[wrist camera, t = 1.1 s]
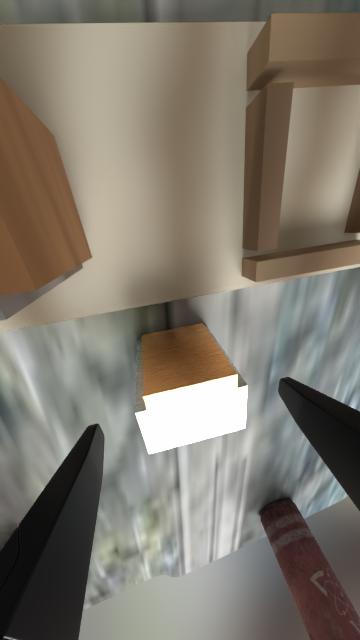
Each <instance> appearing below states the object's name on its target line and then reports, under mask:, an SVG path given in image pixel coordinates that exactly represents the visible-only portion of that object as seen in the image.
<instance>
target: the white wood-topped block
mask: <svg viewBox="0 0 360 640" xmlns="http://www.w3.org/2000/svg"><path fill="white" fill-rule="evenodd" d="M247 390H248V385H247V384H246V382H245V381H244V380H243V378H242V377H241V375H240V374H239V372H238V371H237V369H236V368H235V366H234V365H233V364H232V362H231V361H230V359H229V358H228V356H227V355H226V353H225V352H224V350H223V349H222V348H221V346H220V345H219V343H218V342H217V340H216V339H215V337H214V336H213V335H212V333H211V332H210V330H209V329H208V327H207V326H205V325H204V324H203V323H200V324H195V325H190V326H185V327H180V328H175V329H170V330H165V331H160V332H155V333H150V334H145V335H142V338H141V339H137V362H136V399H135V414H136V417H137V420H138V423H139V426H140V429H141V432H142V435H143V438H144V441H145V444H146V447H147V450H148V453H149V454H153V453H156V452H160V451H164V450H167V449H171V448H175V447H178V446H182V445H186V444H189V443H193V442H197V441H200V440H204V439H208V438H211V437H215V436H219V435H222V434H226V433H230V432H234V431H237V430H241V429H245V427H246V408H247Z"/></svg>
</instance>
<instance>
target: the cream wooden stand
mask: <svg viewBox="0 0 360 640" xmlns="http://www.w3.org/2000/svg"><path fill="white" fill-rule="evenodd" d="M357 267H360V13H271V15H270V17H269V18H268V20H267V21H266V22H166V23H62V24H0V332H4V331H9V330H15V329H20V328H26V327H31V326H37V325H42V324H48V323H54V322H59V321H65V320H70V319H76V318H81V317H87V316H92V315H98V314H103V313H109V312H114V311H120V310H125V309H131V308H136V307H142V306H147V305H153V304H158V303H164V302H169V301H175V300H180V299H186V298H191V297H197V296H202V295H208V294H213V293H219V292H224V291H230V290H235V289H241V288H246V287H252V286H257V285H263V284H269V283H274V282H280V281H285V280H291V279H296V278H302V277H307V276H313V275H318V274H324V273H329V272H335V271H340V270H346V269H351V268H357Z"/></svg>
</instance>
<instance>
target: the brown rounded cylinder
mask: <svg viewBox="0 0 360 640" xmlns="http://www.w3.org/2000/svg"><path fill="white" fill-rule="evenodd" d="M261 522H262V525H263V527H264V529H265V532H266V534H267V537H268V539H269V541H270V544H271V546H272V548H273V551H274V554H275V556H276V558H277V561H278V563H279V565H280V568H281V570H282V572H283V575H284V578H285V580H286V582H287V585H288V587H289V589H290V592H291V594H292V597H293V599H294V602H295V604H296V606H297V609H298V611H299V614H300V616H301V619H302V621H303V623H304V625H305V628H306V631H307V633H308V635H309V637H310V640H360V618H359V616H358V614H357V612H356V611H355V609H354V607H353V605H352V603H351V602H350V600H349V598H348V596H347V595H346V593H345V591H344V590H343V588H342V586H341V584H340V582H339V580H338V579H337V577H336V575H335V573H334V572H333V570H332V568H331V566H330V565H329V563H328V561H327V559H326V558H325V556H324V554H323V552H322V550H321V549H320V547H319V545H318V543H317V542H316V540H315V538H314V536H313V534H312V533H311V531H310V529H309V527H308V526H307V524H306V522H305V520H304V519H303V517H302V515H301V513H300V512H299V510H298V508H297V506H296V505H295V503H294V502H292V501H291V500H290V499H281V500H277V501H275V502H272V503H270V504H269V505H267V506H266V507H265V508H264V509H263V510H262V511H261Z"/></svg>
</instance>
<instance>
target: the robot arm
mask: <svg viewBox="0 0 360 640" xmlns="http://www.w3.org/2000/svg"><path fill="white" fill-rule="evenodd" d="M278 392H279V395H280V397H281V398H282V400H283V402H284V403H285V405H286V407H287V408H288V410H289V412H290V413H291V415H292V417H293V419H294V420H295V422H296V423H297V425H298V426H299V428H300V429H301V431H302V432H303V433H304V435H305V436H306V437H307V439H308V440H309V442H310V443H311V444H312V446H313V447H314V449H315V450H316V451H317V453H318V454H319V455H320V457H321V458H322V460H323V461H324V462H325V464H326V465H327V467H328V468H329V469H330V471H331V472H332V474H333V475H334V476H335V478H336V479H337V480H338V482H339V483H340V485H341V486H342V487H343V489H344V490H345V492H346V493H347V494H348V496H349V497H350V498H351V500H352V501H353V502H354V504H355V505H356V507H357V508H358V509H359V511H360V411H357V410H355V409H353V408H351V407H349V406H347V405H345V404H343V403H341V402H339V401H337V400H335V399H333V398H331V397H329V396H327V395H325V394H323V393H321V392H319V391H316V390H314V389H312V388H310V387H308V386H306V385H304V384H302V383H300V382H298V381H296V380H294V379H292V378H290V377H285V378H281V379H280V381H279V388H278ZM103 459H104V434H103V432H102V429H101V427H100V425H99V424H93V425H90V426H88V427H87V428H86V430H85V431H84V433H83V434H82V436H81V437H80V438H79V440H78V441H77V443H76V444H75V446H74V447H73V448H72V450H71V451H70V453H69V454H68V456H67V457H66V458H65V460H64V461H63V463H62V464H61V466H60V467H59V468H58V470H57V471H56V473H55V474H54V476H53V477H52V478H51V480H50V481H49V483H48V484H47V486H46V487H45V488H44V490H43V491H42V493H41V494H40V496H39V497H38V498H37V500H36V501H35V503H34V504H33V506H32V507H31V508H30V510H29V511H28V513H27V514H26V516H25V517H24V518H23V520H22V521H21V523H20V524H19V528H16V530H15V531H14V533H13V534H12V535H11V537H10V538H9V540H8V541H7V542H6V544H5V545H4V547H3V548H2V549H1V551H0V640H78V638H79V631H80V625H81V618H82V611H83V605H84V598H85V591H86V585H87V578H88V571H89V565H90V558H91V551H92V545H93V538H94V531H95V525H96V518H97V511H98V505H99V498H100V491H101V485H102V476H103Z"/></svg>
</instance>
